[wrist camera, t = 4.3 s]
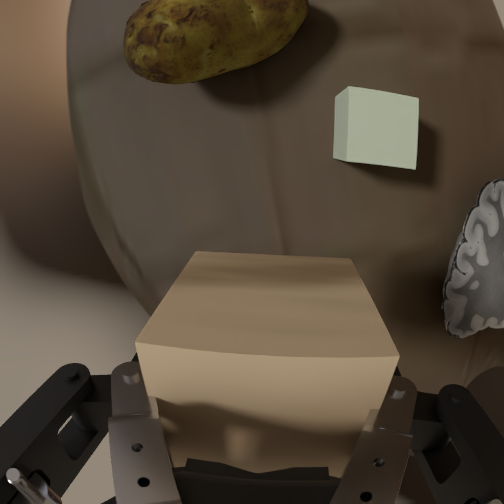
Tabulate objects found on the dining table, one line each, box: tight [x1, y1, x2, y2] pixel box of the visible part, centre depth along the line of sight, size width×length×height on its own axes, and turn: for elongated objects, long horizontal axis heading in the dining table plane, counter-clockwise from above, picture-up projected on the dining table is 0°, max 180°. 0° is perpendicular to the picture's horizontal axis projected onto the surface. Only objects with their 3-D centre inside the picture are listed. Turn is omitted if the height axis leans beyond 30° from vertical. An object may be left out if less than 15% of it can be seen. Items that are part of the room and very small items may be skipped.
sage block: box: [333, 86, 419, 170], centre depth 20 cm, size 5×5×5 cm
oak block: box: [135, 251, 400, 478], centre depth 10 cm, size 6×6×6 cm
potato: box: [123, 0, 309, 84], centre depth 17 cm, size 8×13×8 cm, turn 95°
